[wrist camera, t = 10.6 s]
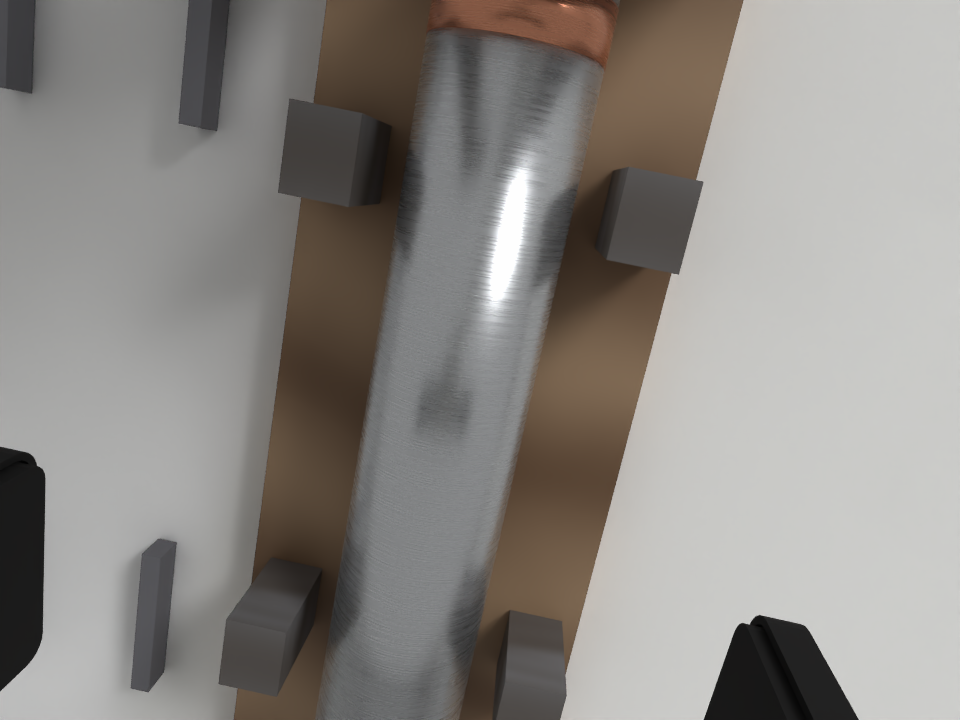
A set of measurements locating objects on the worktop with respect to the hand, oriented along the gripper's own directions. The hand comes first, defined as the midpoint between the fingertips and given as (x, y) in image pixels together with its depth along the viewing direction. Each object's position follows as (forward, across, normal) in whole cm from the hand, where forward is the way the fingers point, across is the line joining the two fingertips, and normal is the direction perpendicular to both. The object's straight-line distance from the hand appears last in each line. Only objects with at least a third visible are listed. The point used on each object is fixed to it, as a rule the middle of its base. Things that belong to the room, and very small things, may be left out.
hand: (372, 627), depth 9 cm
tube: (+11, 0, +1) cm, 11 cm away
